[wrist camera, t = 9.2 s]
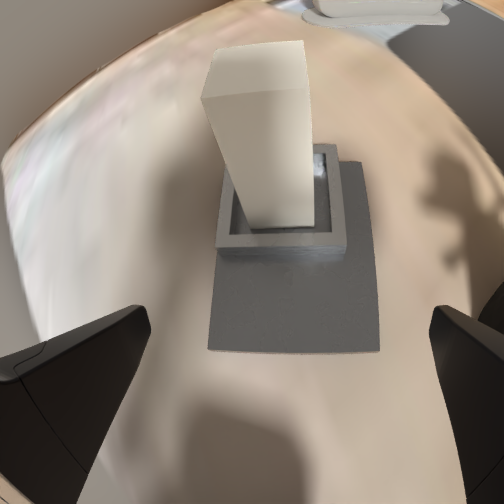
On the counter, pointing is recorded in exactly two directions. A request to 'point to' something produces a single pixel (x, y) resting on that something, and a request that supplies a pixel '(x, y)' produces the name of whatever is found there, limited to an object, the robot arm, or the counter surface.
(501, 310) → the toy
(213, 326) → the bracket plate
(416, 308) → the counter surface
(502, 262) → the counter surface
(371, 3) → the wireless router
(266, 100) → the cream rectangular prism
